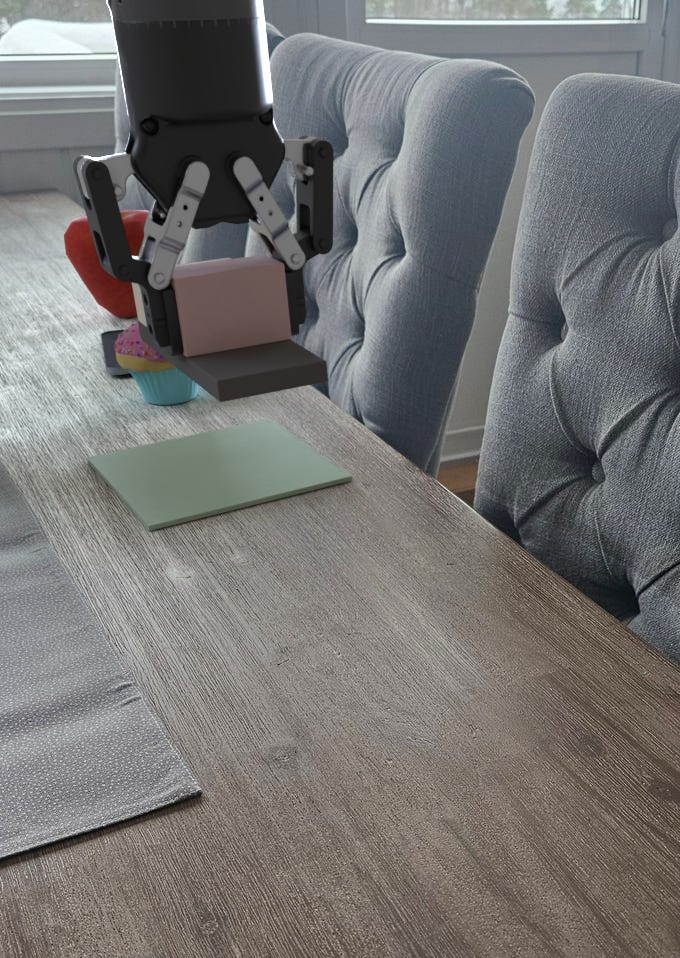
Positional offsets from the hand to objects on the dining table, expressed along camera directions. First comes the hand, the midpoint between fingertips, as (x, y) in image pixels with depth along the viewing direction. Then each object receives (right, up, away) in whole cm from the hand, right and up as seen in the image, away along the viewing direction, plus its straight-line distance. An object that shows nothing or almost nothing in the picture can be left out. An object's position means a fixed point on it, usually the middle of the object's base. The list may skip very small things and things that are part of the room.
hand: (231, 341), depth 65 cm
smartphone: (-21, +14, +51) cm, 57 cm away
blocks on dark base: (0, -1, +1) cm, 2 cm away
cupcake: (-14, +6, +39) cm, 42 cm away
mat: (-6, -3, +23) cm, 24 cm away
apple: (-26, +22, +65) cm, 74 cm away
